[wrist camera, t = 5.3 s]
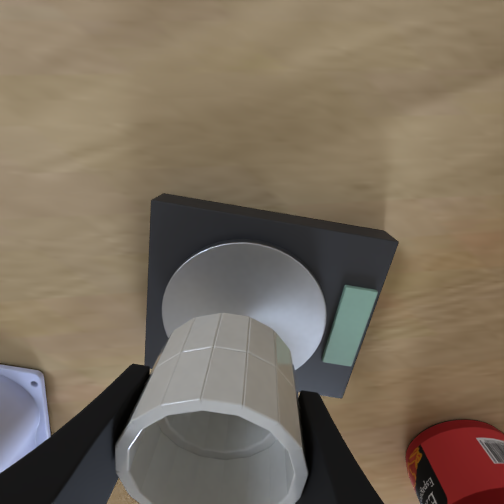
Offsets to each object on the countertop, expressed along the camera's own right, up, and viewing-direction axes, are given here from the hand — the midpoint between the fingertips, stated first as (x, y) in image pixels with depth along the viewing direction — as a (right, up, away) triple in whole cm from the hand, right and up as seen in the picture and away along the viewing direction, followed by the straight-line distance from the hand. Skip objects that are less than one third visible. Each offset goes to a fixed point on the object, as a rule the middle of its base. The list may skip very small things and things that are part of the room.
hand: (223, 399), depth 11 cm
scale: (+1, +3, +8) cm, 9 cm away
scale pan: (+1, +2, +6) cm, 6 cm away
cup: (0, +1, +2) cm, 2 cm away
